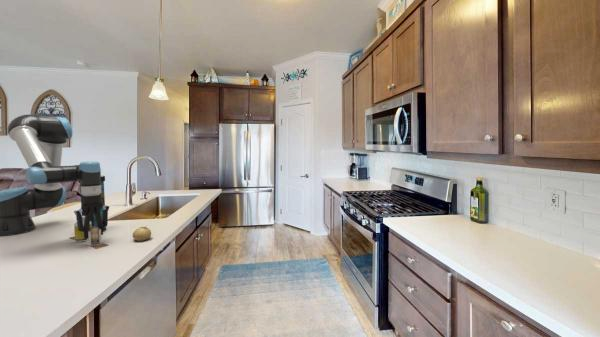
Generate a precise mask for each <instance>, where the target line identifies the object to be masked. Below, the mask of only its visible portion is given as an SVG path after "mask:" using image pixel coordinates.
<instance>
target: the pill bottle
mask: <svg viewBox="0 0 600 337" xmlns="http://www.w3.org/2000/svg"><path fill="white" fill-rule="evenodd" d="M75 219H76V222H74V225H73V226H74V229H73V230H74V236H75V240H74V241H75V242H79V243H80V242H81V243H82V242H87V240H86V239H85V238H84V232H81V231H79V230H78V225H77V218H75ZM82 221H83V227H84V221H85V216H82ZM89 227H91V221H90V224H89Z"/></svg>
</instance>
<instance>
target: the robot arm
mask: <svg viewBox="0 0 600 337" xmlns="http://www.w3.org/2000/svg"><path fill="white" fill-rule="evenodd" d="M7 134H8V136H9V138H10V139H11V140H13V141H15V143H16V145H17V147H18V149H19V150H20V152H21V155H22V156H23V158H24V160H25V163H26V165H28V166H27V167H28V168H26V170H25V178H26V181H27V183H28V184H30V185H34V186H33V188H28V187H27V186H21V187H19V186H18V187H13V188H7V189H3V190H0V237H5V236H13V235H19V234H20V235H21V234H25V233H28V232H29V233H30V232H32V231H35V229H36V224H35V222H34V220H33V219H32V217H31V212H30V211H32V210H33V211H34V210H41V209H47V208H54V207H59V206H62V205H63V204H64V203H65V201H66V198H67V190H66V188H65V186H63V184H61V183H68V182H69V183H70V182H78V181H80V183H81V192H80V202H81V201H82V206H81V205H80V208H78V209H77V210H76V209H75V210H73V213H74V215H75V217H76V218H77V220H76V222H77V225H78V230H79V231H81V232H84V238H85V239H86V240H87V241H86V245H87V246H90V247H91V246H92V245H91V231H89V224H90V218H91V215H92V214H94V215H95V218H96V221H97V225H98V234H99V239H98V244H100V243H102V236H103V235H104V232H103V229H104V227H105V226H106V227H107V226H108V222H109V221H108V220H109V209H110V206H109V205H105V206H104V205H103V204H102V195H101V194H100V193H102V192H101V176H102V175H101V174H102V173H101V172H102V169H101V164H100V163H101V162H99V161H80V163H79V164H74V165H62V154H63V145H65V144H67V142H68V141H67V140H69V139H72V137H73V128H72V125H71V123H70V121H69V120H68V118H65V117H61V116H54V115H53V116H52V115H39V114H22V115H19V116H17V117H15V118H13V119H12V120H11V121H10V123H9V124H8V126H7ZM80 183H79V184H80ZM81 194H82V195H83V196H81ZM101 209H103V216H102V220H101V216H100V210H101ZM82 211H83V212H84V213H85V221H84V227H83V221H82ZM76 218H75V219H76Z"/></svg>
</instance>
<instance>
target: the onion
mask: <svg viewBox="0 0 600 337" xmlns="http://www.w3.org/2000/svg"><path fill="white" fill-rule="evenodd" d="M151 237H152V230H151V229H150V228H149V227H147V226H140V227H138V228H136V229H135V230H134V231H133V232H132V239H133V240H135V241H139V242H143V241H148V239H150V238H151Z"/></svg>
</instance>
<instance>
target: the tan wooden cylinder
mask: <svg viewBox="0 0 600 337" xmlns="http://www.w3.org/2000/svg"><path fill="white" fill-rule="evenodd" d="M89 231H91V245H90V246H93V245H97V244H99V242H98V239H99V234H98V226H93V227H89Z"/></svg>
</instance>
